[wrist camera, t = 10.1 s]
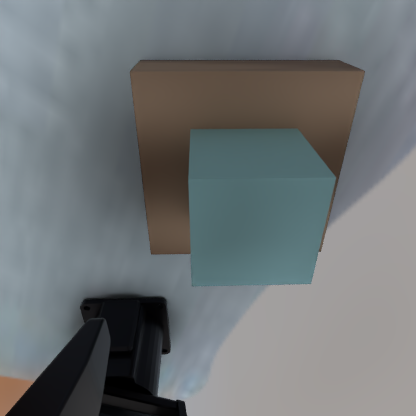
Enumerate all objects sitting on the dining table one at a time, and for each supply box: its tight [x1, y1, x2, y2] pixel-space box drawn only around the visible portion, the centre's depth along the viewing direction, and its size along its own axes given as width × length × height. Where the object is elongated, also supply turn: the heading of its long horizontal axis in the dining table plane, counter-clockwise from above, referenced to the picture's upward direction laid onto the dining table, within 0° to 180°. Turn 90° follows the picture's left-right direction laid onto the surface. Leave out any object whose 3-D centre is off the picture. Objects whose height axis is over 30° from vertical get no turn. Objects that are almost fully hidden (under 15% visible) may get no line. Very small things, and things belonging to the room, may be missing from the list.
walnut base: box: [130, 60, 365, 254], centre depth 18 cm, size 10×10×3 cm
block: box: [188, 129, 336, 286], centre depth 14 cm, size 5×5×5 cm
